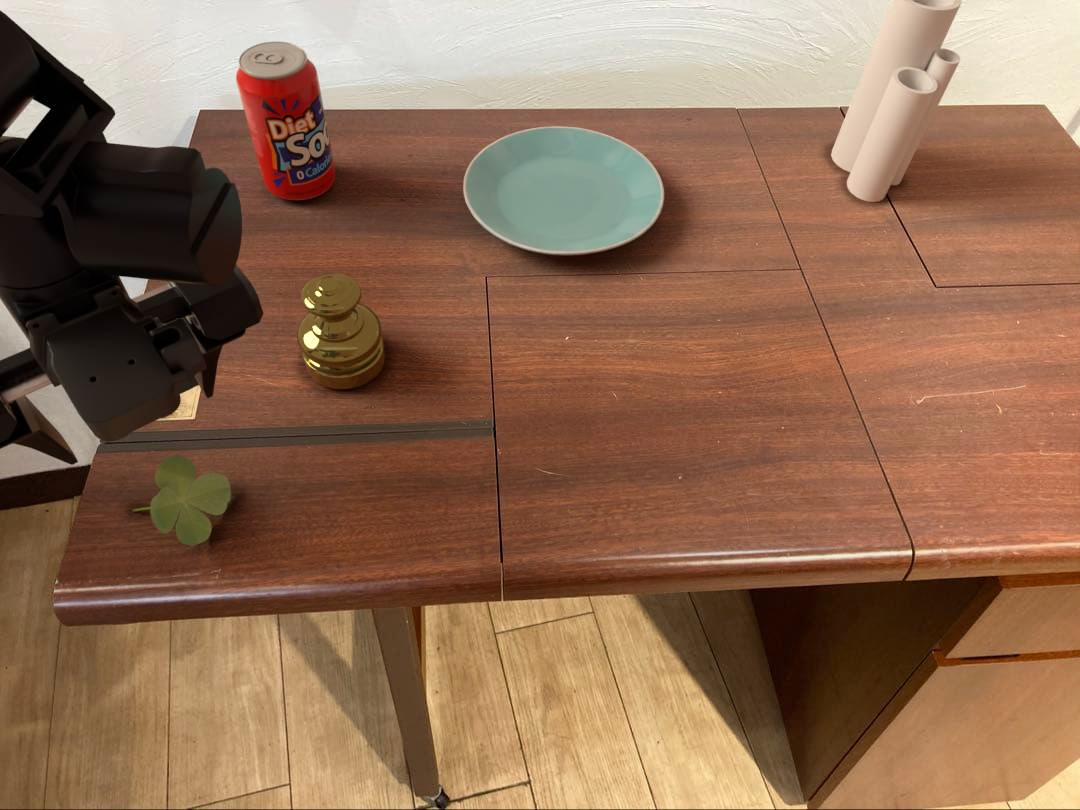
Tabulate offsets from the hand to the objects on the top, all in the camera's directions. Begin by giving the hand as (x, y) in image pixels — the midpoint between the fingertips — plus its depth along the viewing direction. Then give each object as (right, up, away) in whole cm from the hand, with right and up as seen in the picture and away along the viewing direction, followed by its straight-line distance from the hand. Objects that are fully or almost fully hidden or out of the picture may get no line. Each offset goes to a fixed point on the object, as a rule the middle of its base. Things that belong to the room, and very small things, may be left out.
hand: (142, 425), depth 54 cm
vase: (+66, +30, +43) cm, 84 cm away
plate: (+29, +24, +37) cm, 53 cm away
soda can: (0, +26, +37) cm, 45 cm away
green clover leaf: (-2, -7, +11) cm, 13 cm away
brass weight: (+9, +5, +21) cm, 24 cm away
